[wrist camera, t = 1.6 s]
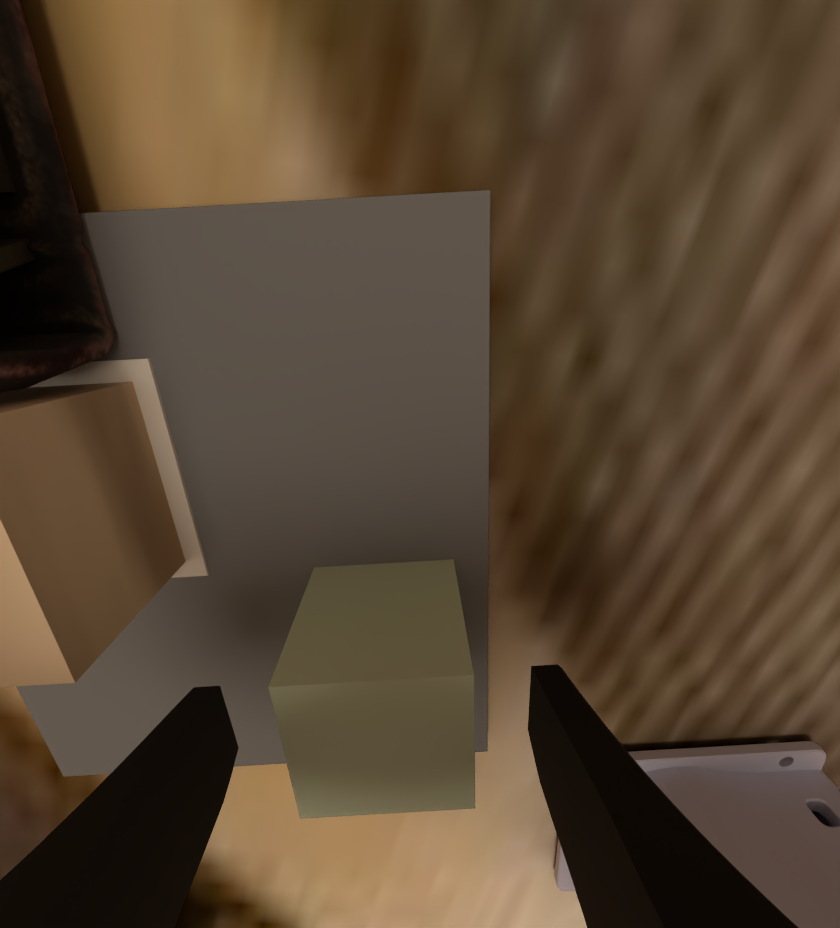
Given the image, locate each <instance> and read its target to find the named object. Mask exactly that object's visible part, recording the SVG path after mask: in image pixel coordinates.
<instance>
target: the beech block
mask: <svg viewBox="0 0 840 928" xmlns="http://www.w3.org/2000/svg"><path fill="white" fill-rule="evenodd" d="M185 562H186V561H185V558H184V555H183V551H182V548H181V544H180V541H179V538H178V534H177V531H176V527H175V524H174V521H173V517H172V514H171V510H170V507H169V504H168V500H167V497H166V493H165V490H164V487H163V483H162V480H161V476H160V473H159V470H158V466H157V463H156V459H155V456H154V453H153V449H152V446H151V442H150V439H149V436H148V432H147V429H146V425H145V422H144V419H143V415H142V412H141V408H140V405H139V402H138V398H137V395H136V391H135V388H134V385H133V381H132V382H115V383H98V384H80V385H63V386H45V387H28V388H25V389H19V390H13V391H7V392H0V687H14V686H31V685H48V684H65V683H76V682H77V680H78V679H79V678H80V677H81V676H82V675H83V674H84V673H85V672H86V671H87V669H88V668H89V667H90V666H91V665H92V664H93V663H94V662H95V661H96V660H97V658H98V657H99V656H100V655H101V654H102V653H103V652H104V651H105V650H106V649H107V647H108V646H109V645H110V644H111V643H112V642H113V641H114V640H115V639H116V638H117V636H118V635H119V634H120V633H121V632H122V631H123V630H124V629H125V628H126V627H127V625H128V624H129V623H130V622H131V621H132V620H133V619H134V618H135V617H136V616H137V614H138V613H139V612H140V611H141V610H142V609H143V608H144V607H145V606H146V605H147V603H148V602H149V601H150V600H151V599H152V598H153V597H154V596H155V595H156V594H157V593H158V591H159V590H160V589H161V588H162V587H163V586H164V585H165V584H166V583H167V582H168V580H169V579H170V578H171V577H172V576H173V575H174V574H175V573H176V572H177V571H178V569H179V568H180V567H181V566H182V565H183V564H184V563H185Z"/></svg>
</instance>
